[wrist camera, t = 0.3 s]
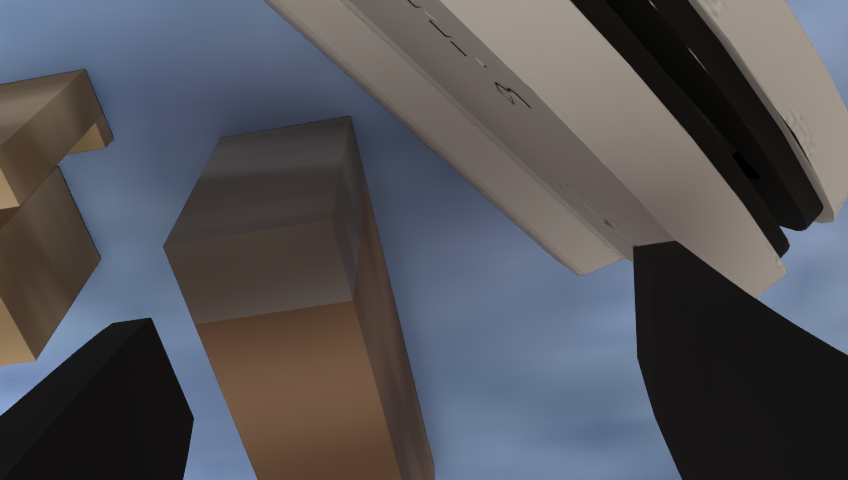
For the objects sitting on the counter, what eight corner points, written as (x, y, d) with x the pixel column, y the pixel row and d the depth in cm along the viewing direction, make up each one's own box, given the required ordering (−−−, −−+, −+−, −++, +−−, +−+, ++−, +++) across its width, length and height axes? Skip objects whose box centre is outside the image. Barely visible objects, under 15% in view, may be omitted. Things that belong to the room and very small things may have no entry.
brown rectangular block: (434, 466, 27) (438, 613, 22) (334, 479, 27) (317, 627, 23) (350, 115, 20) (331, 219, 16) (220, 138, 21) (163, 246, 16)
